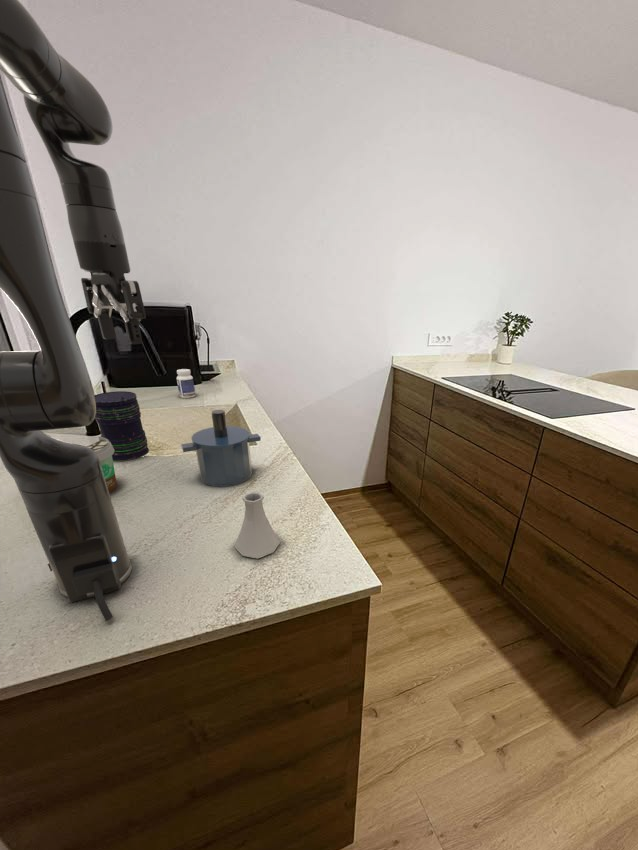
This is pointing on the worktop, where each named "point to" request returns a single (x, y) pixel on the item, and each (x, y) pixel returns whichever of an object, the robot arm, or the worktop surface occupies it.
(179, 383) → the pill bottle
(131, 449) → the storage jar
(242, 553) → the flask
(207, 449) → the two-handled cooking pot
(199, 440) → the pot lid
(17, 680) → the worktop surface
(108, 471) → the food container
